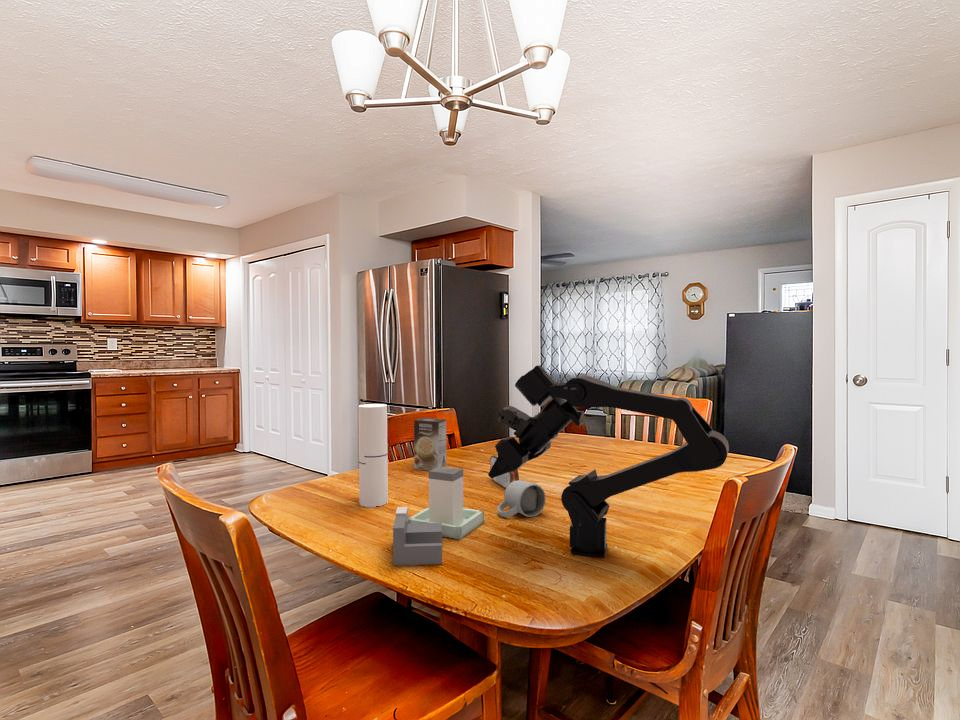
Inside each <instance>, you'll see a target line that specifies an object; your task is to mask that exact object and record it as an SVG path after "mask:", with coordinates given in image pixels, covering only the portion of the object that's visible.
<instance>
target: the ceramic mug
mask: <svg viewBox="0 0 960 720" xmlns="http://www.w3.org/2000/svg"><path fill="white" fill-rule="evenodd" d="M503 494H504V501H502V502H500V503H499V505H498V506H497V512H498V515H499V516H500V517H501V518H510V517H513V516H514V515H516V514H518V513H519V514H521V515H523V516H525V517H527V518H535V517H537V516H538V515H540V514H541V513H542V511H543V510H544V507H545V505H546V492H545V490H544V488H543V487H542V486H541V485H539V484H537V483H533V482H529V481H524V480H520V479H519V480H518V481H513V482H511V483H510V484H509V485H508V486H507V487H506V489H505V491H504V493H503ZM506 507H509V508H510V509H508V510H504V509H505V508H506ZM503 510H504V511H503Z"/></svg>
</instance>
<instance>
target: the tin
mask: <svg viewBox="0 0 960 720" xmlns="http://www.w3.org/2000/svg"><path fill="white" fill-rule="evenodd" d="M497 457H498V453H496V454H493V455H491V457H490V459H489V466H490V467H489V468H490V470H491V468H492V466H493V465H494V463H495V461H496V459H497ZM492 480H493V481H494V482H495V483H496V484H497V485H499V486H500V487H502V488H503V489H505V490H506V487H507V486H508V485H509V484H510V483H511V482H513V481H518V480H520V475H519V469H517V470H515V471H511V472H508V473H505V474H503V475H500V476H497V477H494V478H492Z"/></svg>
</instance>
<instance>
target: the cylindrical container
mask: <svg viewBox="0 0 960 720" xmlns="http://www.w3.org/2000/svg"><path fill="white" fill-rule="evenodd" d="M357 409H358V474H359V475H358V482H359V483H358V484H359V485H358V489H359V492H358V493H359V497H358V499H359V500H358V501H359V503H360V504H359V505H360V506H361V505H362V506H361V507H363V506H365V507H364V508H377V507H376V506H380V507H383V506H382V505H384V504H386V503H387V504H388V503H389V490H388V489H389V486H388V485H389V484H388V483H389V481H388V480H389V479H388V478H389V477H388V476H389V474H388V472H389V471H388V468H389V465H388V464H389V463H388V461H389V458H388V455H389V454H388V405H387V404H386V403H364V404H359V405H358V407H357ZM387 504H386V505H387ZM384 506H385V505H384Z"/></svg>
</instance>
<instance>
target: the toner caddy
mask: <svg viewBox="0 0 960 720" xmlns="http://www.w3.org/2000/svg"><path fill="white" fill-rule="evenodd" d="M428 507H429V521H432V522H438V523H444V524H450V525H456V526H458V525H459V524H461V523H462V522H463V508H464V469H463V468H458V467H456V468H455V467H447V466H446V467H441V466H440V467H437V468H435V469H433V470H430V471H428Z"/></svg>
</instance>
